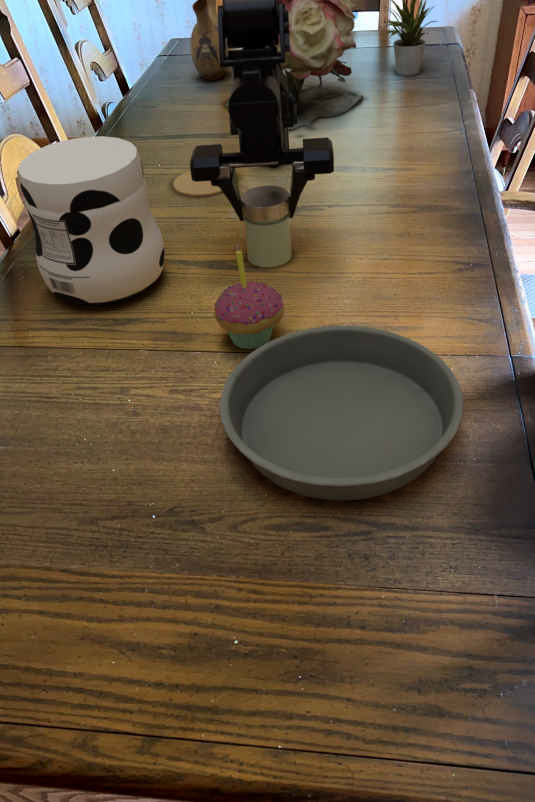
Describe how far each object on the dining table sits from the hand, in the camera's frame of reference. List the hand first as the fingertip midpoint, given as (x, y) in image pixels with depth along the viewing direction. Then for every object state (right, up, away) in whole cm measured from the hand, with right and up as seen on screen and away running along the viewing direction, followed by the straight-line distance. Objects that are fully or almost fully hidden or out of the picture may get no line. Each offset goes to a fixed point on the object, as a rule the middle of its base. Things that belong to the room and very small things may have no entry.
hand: (266, 218), depth 100 cm
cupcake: (-2, -18, -11) cm, 21 cm away
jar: (0, -4, +4) cm, 6 cm away
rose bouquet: (+7, +38, +52) cm, 65 cm away
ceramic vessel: (-13, +51, +70) cm, 88 cm away
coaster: (-11, +13, +25) cm, 30 cm away
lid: (0, +2, -2) cm, 3 cm away
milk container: (-23, -9, +2) cm, 24 cm away
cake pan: (+8, -28, -24) cm, 38 cm away
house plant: (+32, +50, +64) cm, 88 cm away
